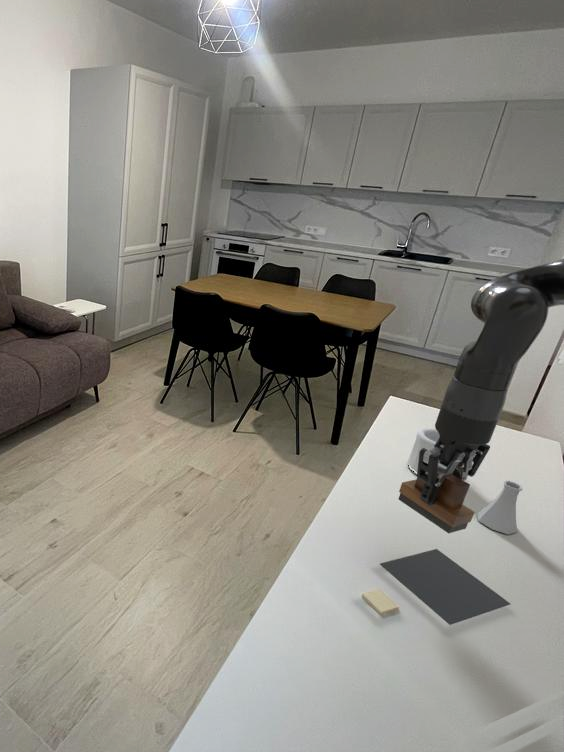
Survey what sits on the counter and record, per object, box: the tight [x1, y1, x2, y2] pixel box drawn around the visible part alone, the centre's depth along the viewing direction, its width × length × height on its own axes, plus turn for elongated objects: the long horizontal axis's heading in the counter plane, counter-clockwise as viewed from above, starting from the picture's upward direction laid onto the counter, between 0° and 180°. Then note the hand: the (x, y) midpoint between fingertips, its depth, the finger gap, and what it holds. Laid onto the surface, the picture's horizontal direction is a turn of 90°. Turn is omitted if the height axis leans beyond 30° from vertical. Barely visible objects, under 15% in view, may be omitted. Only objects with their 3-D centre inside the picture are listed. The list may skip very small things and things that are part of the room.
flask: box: [476, 480, 523, 535], centre depth 105 cm, size 7×7×10 cm
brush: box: [398, 471, 476, 534], centre depth 84 cm, size 4×10×8 cm, turn 21°
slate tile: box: [379, 548, 511, 626], centre depth 88 cm, size 15×14×1 cm
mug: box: [407, 427, 447, 476], centre depth 125 cm, size 14×11×10 cm
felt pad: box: [361, 588, 400, 616], centre depth 82 cm, size 4×4×2 cm
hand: (437, 499), depth 84 cm, fingers closed on brush, 4 cm apart
